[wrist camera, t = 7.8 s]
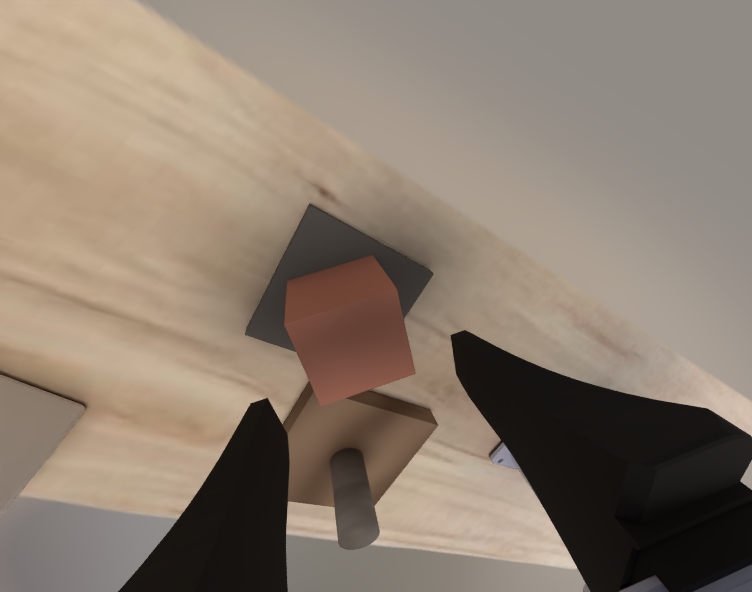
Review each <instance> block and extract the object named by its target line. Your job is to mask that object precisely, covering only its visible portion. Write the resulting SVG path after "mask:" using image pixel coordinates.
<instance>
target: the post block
mask: <svg viewBox="0 0 752 592" xmlns="http://www.w3.org/2000/svg"><path fill="white" fill-rule="evenodd" d="M437 426H438V424H437V422H436V420H435V418H434V416H433V414H432V412H431V410H428V409H425V408H422V407H418V406H415V405H412V404H409V403H406V402H403V401H399V400H396V399H393V398H390V397H387V396H383V395H380V394H377V393H374V392H371V391H364V392H361V393H359V394H356V395H353V396H350V397H347V398H344V399H342V400H339V401H336V402H333V403H330V404H327V405H324V406H322V407H321V406H320V403H319V401H318V399H317V397H316V395H315V392H314V390H313V388H312V386H311V383H310V381H309V383H308V384H307V386H306V387H305V389H304V391H303V392H302V394H301V396H300V397H299V399H298V401H297V402H296V404H295V406H294V407H293V409H292V411H291V412H290V414H289V416H288V417H287V419H286V420H285V422H284V424H283V427H284V429H285V430H286V432H287V434H288V444H289V459H290V467H289V487H288V501H290V502H298V503H306V504H314V505H322V506H330V507H335V516H336V525H337V534H338V543H339V545H340V547H342V548H344V549H348V550H354V549H359V548H363V547H365V546H367V545H369V544H371V543H372V542H374V541H375V540H376V539H377V537H378V536H379V532H380V531H379V526H378V521H377V517H376V512H375V508H374V506H375V505H376V503H377V502H378V501H379V500H380V498H381V497H382V496H383V494H384V493H385V492H386V491H387V489H388V488H389V487H390V486H391V484H392V483H393V482H394V481H395V479H396V478H397V477H398V476H399V474H400V473H401V472H402V470H403V469H404V468H405V467H406V465H407V464H408V463H409V462H410V460H411V459H412V458H413V457H414V455H415V454H416V453H417V452H418V450H419V449H420V448H421V447H422V445H423V444H424V443H425V441H426V440H427V439H428V438H429V436H430V435H431V434H432V433H433V431H434V430H435V429H436V428H437Z"/></svg>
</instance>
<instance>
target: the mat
mask: <svg viewBox="0 0 752 592" xmlns="http://www.w3.org/2000/svg"><path fill="white" fill-rule="evenodd" d="M371 255H373V256H374V257H375V259H376V260H377V262H378V263H379V264H380V266H381V267H382V269H383V270H384V271H385V273H386V274H387V276H388V277H389V278H390V280H391V281H392V283H393V284H394V285H395V287H396V288H397V292H398V296H399V301H400V305H401V310H402V314H403V319H404V318H405V316H406V315H407V313H408V312H409V310H410V309H411V307H412V306H413V304H414V303H415V301H416V300H417V298H418V297H419V295H420V294H421V292H422V291H423V289H424V288H425V286H426V285H427V283H428V282H429V280H430V279H431V277H432V276H433V273H432V272H431V271H430V270H429V269H427V268H425V267H423V266H421V265H419V264H418V263H416V262H414V261H412V260H410V259H409V258H407V257H405V256H403V255H401V254H400V253H398V252H396V251H394V250H392V249H391V248H389V247H387V246H385V245H383V244H382V243H380V242H378V241H376V240H374V239H373V238H371V237H369V236H367V235H365V234H363V233H362V232H360V231H358V230H356V229H354V228H353V227H351V226H349V225H347V224H345V223H344V222H342V221H340V220H338V219H336V218H335V217H333V216H331V215H329V214H327V213H326V212H324V211H322V210H320V209H318V208H317V207H315V206H313V205H311V204H309V206H308V208H307V210H306V212H305V214H304V216H303V218H302V220H301V222H300V224H299V226H298V228H297V230H296V232H295V234H294V236H293V238H292V240H291V242H290V244H289V246H288V247H287V249H286V251H285V253H284V255H283V257H282V259H281V261H280V263H279V265H278V267H277V269H276V271H275V273H274V275H273V277H272V279H271V281H270V283H269V285H268V287H267V289H266V291H265V293H264V295H263V297H262V299H261V301H260V303H259V305H258V307H257V309H256V311H255V313H254V315H253V317H252V319H251V321H250V323H249V325H248V327H247V329H246V332H245V335H248V336H250V337H253V338H256V339H259V340H262V341H265V342H268V343H271V344H274V345H277V346H280V347H283V348H286V349H289V350H292V351H295V352H296V350H295V348H294V345H293V343H292V341H291V339H290V336H289V334H288V332H287V330H286V327H285V325H284V320H285V305H286V289H287V281H289V280H292V279H295V278H299V277H302V276H305V275H308V274H312V273H315V272H318V271H322V270H325V269H328V268H331V267H335V266H338V265H341V264H345V263H348V262H351V261H354V260H358V259H361V258H364V257H367V256H371Z"/></svg>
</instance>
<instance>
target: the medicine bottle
mask: <svg viewBox="0 0 752 592" xmlns="http://www.w3.org/2000/svg"><path fill="white" fill-rule="evenodd" d="M84 411H85V407H84V406H83V405H81V404H79V403H76V402H73V401H71V400H68V399H65V398H63V397H60V396H57V395H55V394H52V393H49V392H46V391H44V390H41V389H38V388H36V387H33V386H30V385H28V384H25V383H22V382H19V381H17V380H14V379H11V378H9V377H6V376H3V375H1V374H0V518H1V517H2V515H3V514H4V513H5V512H6V510H7V509H8V508H9V507H10V505H11V504H12V503H13V502H14V500H15V499H16V498H17V497H18V495H19V494H20V493H21V492H22V490H23V489H24V488H25V487H26V485H27V484H28V483H29V481H30V480H31V479H32V478H33V476H34V475H35V474H36V473H37V471H38V470H39V469H40V468H41V466H42V465H43V464H44V463H45V461H46V460H47V459H48V458H49V456H50V455H51V454H52V453H53V451H54V450H55V449H56V448H57V446H58V445H59V444H60V443H61V441H62V440H63V439H64V437H65V436H66V435H67V434H68V432H69V431H70V430H71V429H72V427H73V426H74V425H75V424H76V422H77V421H78V420H79V419H80V417H81V416H82V415H83V414H84Z"/></svg>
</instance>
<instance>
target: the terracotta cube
mask: <svg viewBox="0 0 752 592" xmlns="http://www.w3.org/2000/svg"><path fill="white" fill-rule="evenodd" d="M284 325H285V327H286V330H287V332H288V334H289V336H290V339H291V341H292V343H293V345H294V348H295V350H296V352H297V354H298V357H299V359H300V361H301V363H302V365H303V368H304V370H305V372H306V374H307V377H308V379H309V381H310V383H311V386H312V388H313V390H314V392H315V395H316V397H317V399H318V401H319V403H320V406H321V407H322V406H324V405H327V404H330V403H333V402H336V401H339V400H342V399H344V398H347V397H350V396H353V395H356V394H359V393H361V392H364V391H367V390H370V389H373V388H376V387H379V386H381V385H384V384H387V383H390V382H393V381H396V380H398V379H401V378H404V377H407V376H410V375H413V374H416V373H415V369H414V364H413V360H412V355H411V350H410V346H409V341H408V337H407V332H406V328H405V323H404V319H403V314H402V310H401V305H400V301H399V296H398V292H397V288H396V287H395V285H394V284H393V283H392V281H391V280H390V278H389V277H388V276H387V274H386V273H385V271H384V270H383V269H382V267H381V266H380V264H379V263H378V262H377V260H376V259H375V257H374V256H373V255H371V256H367V257H364V258H361V259H358V260H354V261H351V262H348V263H345V264H341V265H338V266H335V267H331V268H328V269H325V270H322V271H318V272H315V273H312V274H308V275H305V276H302V277H299V278H295V279H292V280H289V281H287V289H286V305H285V320H284Z"/></svg>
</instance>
